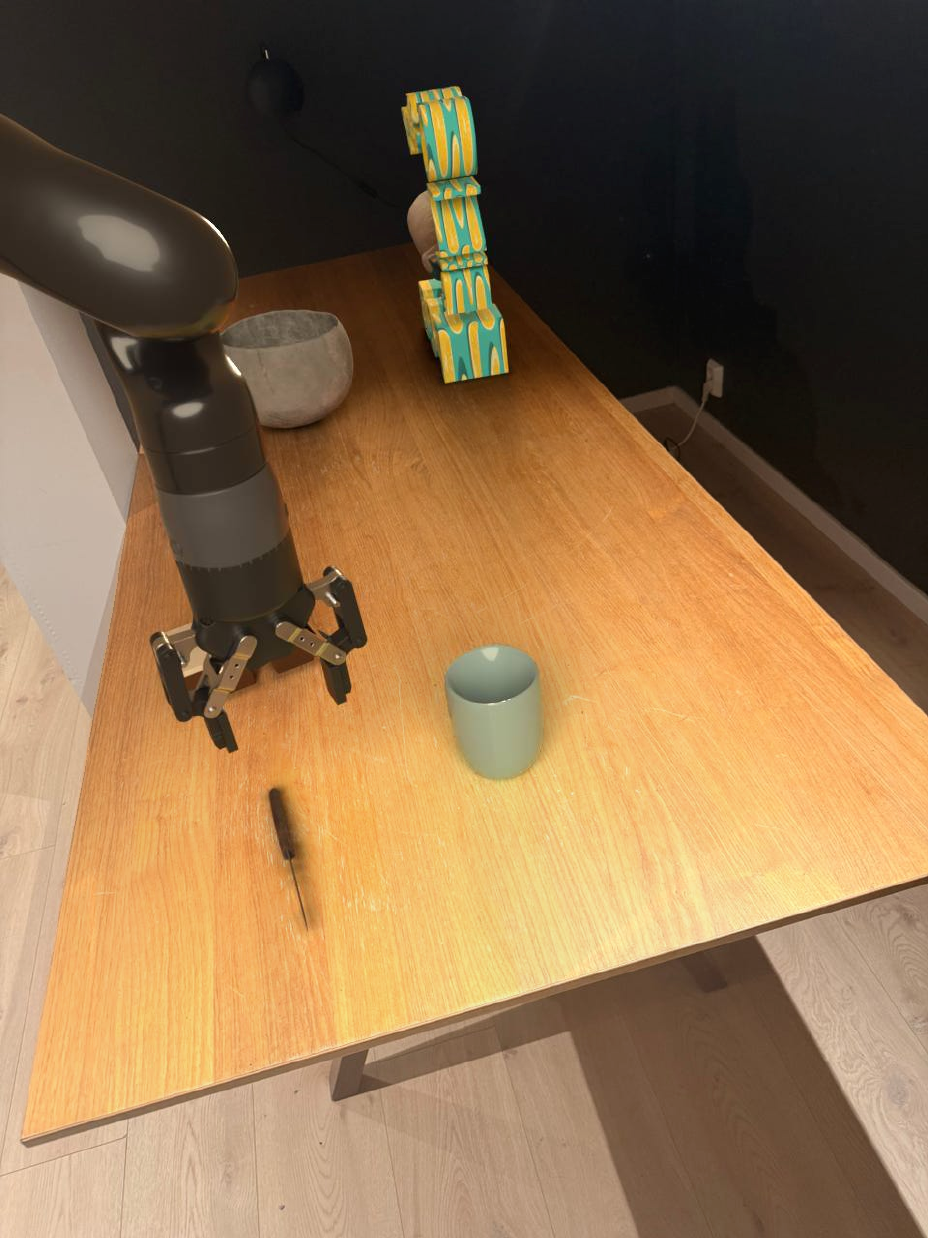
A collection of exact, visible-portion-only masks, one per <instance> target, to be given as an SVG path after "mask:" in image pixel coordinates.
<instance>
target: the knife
mask: <svg viewBox="0 0 928 1238" xmlns="http://www.w3.org/2000/svg"><path fill="white" fill-rule="evenodd" d="M268 799H269V806H270V811H271V817H272V821H273V825H274V829H275V832H276V835H277V840H278V844H279V848H280V852H281V855H282V858H283V860H284V861H288V862H289V867H290V869H291V874H292V877H293V878H292V879H293V882H294V886H295V890H296V894H297V897H298V902H299V905H300V909H301V914H302V917H303V921H304V924H305V927H306V930H307V932H309V928H308V922H307V917H306V914H305V909H304V905H303V902H302V897H301V894H300V889H299V886H298V882H297V878H296V877H297V876H296V874H295V870H294V865H293V862H292V860H293V859H294V858H295V857H296V851H295V847H294V846H295V845H294V843H293V839H292V834H291V830H290V824H289V820H288V817H287V814H286V810H285V808H284V805H283V801H282V798H281V795H280V792H279V789H277V788H271V789H270V790H269V792H268Z"/></svg>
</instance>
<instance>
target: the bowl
mask: <svg viewBox="0 0 928 1238" xmlns="http://www.w3.org/2000/svg"><path fill="white" fill-rule="evenodd" d="M220 337H221V340H222V343H223V346H224V348H225V350H226V353H227V354H228V356H229V358H230V359H231V361H232V362H233V363H234V365H235V366H236V367H237V368H238V370H239V371H240V372H241V374H242V375H243V376H244V378H245V380H246V381H247V384H248V386H249V388H250V390H251V393H252V395H253V398H254V402H255V405H256V408H257V412H258V417H259V421H260V425H261V426H264V427H269V428H276V429H277V428H278V429H293V428H297V427H302V426H307V425H310V424H313V423H316V422H319V421H320V420H322V419H324V418H326V417H327V416H329V415H330V414H332V413H333V412H334V411H336V409H337V408H338V407H339V406H340V405H341V404H342V403H343V401H344V400H345V399H346V397H347V395H348V393H349V391H350V388H351V386H352V382H353V377H354V358H353V350H352V345H351V342H350V338H349V336H348V334H347V331H346V329H345V328H344V325H343V323H342V322H340V320H339V319H338V316H336V315H334V313H331V312H327V311H314V310H310V309H297V310H295V309H282V310H271V311H268V312H263V313H259V314H256V315H253V316H249V317H246V318H243V319H241V320H238V321H236V322H235V323H232V324H231V325H230V326H228V327H226V328H225V329H224V330H223V331H222V332H221V333H220Z"/></svg>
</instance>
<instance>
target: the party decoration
mask: <svg viewBox="0 0 928 1238" xmlns="http://www.w3.org/2000/svg"><path fill="white" fill-rule="evenodd" d="M405 96H406V106H402V107H401V114H402V120H403V123H404V128H405V133H406V134H405V135H406V138H407V145H408V149H409V153H410V155H411V156H412V155H417V154H418V155H419V154H422V157H423V163H424V169H425V174H426V178H427V181H428V182H427V183H426V190H425V191H423V192H422V193H420V194H418V196H417V197H416V198H415V199H414V201H413V203H412V204H411V205H410V207H409V208H408V212H407V217H406V222H407V223H406V224H407V226H408V231H409V234H410V236H411V239H412V241H413V243H414V246H415V247H416V249H417V251H418V252H419V255H420V256H421V262H422V264H423V267H424V269H425V270H426V272H427V273H428V274H429V276H431V277H432V278H433V279H426V280H419V281H418V282H417V283H418V290H419V297H420V303H421V304H420V305H421V311H422V319H423V325H424V330H425V332H426V335H427V337H428V340H430V343H431V344H430V345H431V348H432V351H433V353H434V357H435V358H439V361H440V366H441V374H442V379H443V381H444V384H449V383H454V382H461V381H466V380H472V379H479V378H484V377H485V378H486V377H490V376H495V375H502V374H507V373H509V363H508V362H509V360H508V351H507V340H506V329H505V323H504V317H503V315H502V314H501V312H500V311H499V309H498V307H497V305H496V303H493V301H492V293H491V283H490V275H489V269H488V266H487V265H488V264H489V262H488V256H487V255H486V253H485V252H486V251H487V242H486V237H485V236H486V235H485V232H484V227H483V221H482V217H481V212H480V209H479V202H478V198H477V195H481V194H482V192H481V191H482V189H481V185H480V184H479V183H478V181H477V180H476V179H475V177H474V176H475V175H477V174H478V151H477V141H476V140H477V139H476V132H475V123H474V117H473V112H472V106H471V102H470V99H469V98H468V97H466V96H465V95H463V94H462V91H461V88H460V87H459V86H457V85H455V86H449V87H448V86H447V87H442V88H435V89H429V90H421V91H416V92H408V93H405ZM426 328H427V329H426Z"/></svg>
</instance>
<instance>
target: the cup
mask: <svg viewBox="0 0 928 1238" xmlns="http://www.w3.org/2000/svg"><path fill="white" fill-rule="evenodd" d="M540 672H541V671H540V668H539V666H538V665H537V662H536V661H535V660H534V659H533V658H532V656H530V655H529V654H528V653H526V652H525V651H524V650H522V649H519V648H516V647H514V646H511V645H507V644H487V645H483V646H478V647H476V648H475V647H474V648H473V649H470V650H468V651H466V652H464V653H463V654H461V655H459V656H458V657H457V658H455V659H454V661H452V662H451V663H450V664H449V665H448V667H447V669H446V670H445V673H444V681H443V682H444V683H443V685H444V694H445V701H446V705H447V711H448V718H449V722H450V726H451V730H452V734H453V738H454V740H455V741H454V742H455V744H456V746H457V749H458V752H459V754H460V756H461V757H462V759H463V760H464V762H465V763H466V765H467V766H468V767H469V768H470V769H471V770H472V771H473V772H475V773H476V774H478V775H480V776H481V777H484V778H486V779H489V780H494V781H504V780H509V779H513V778H516V777H518V776H520V775H521V774H523V773H525V772H526V771H527V770H528V769H530V768H531V767H532V766H533V764H534V763H535V762H536V760H538V757H539V755H540V753H541V750H542V746H543V741H544V735H545V712H544V711H545V709H544V700H543V699H544V698H543V687H542V679H541V673H540Z"/></svg>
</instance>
